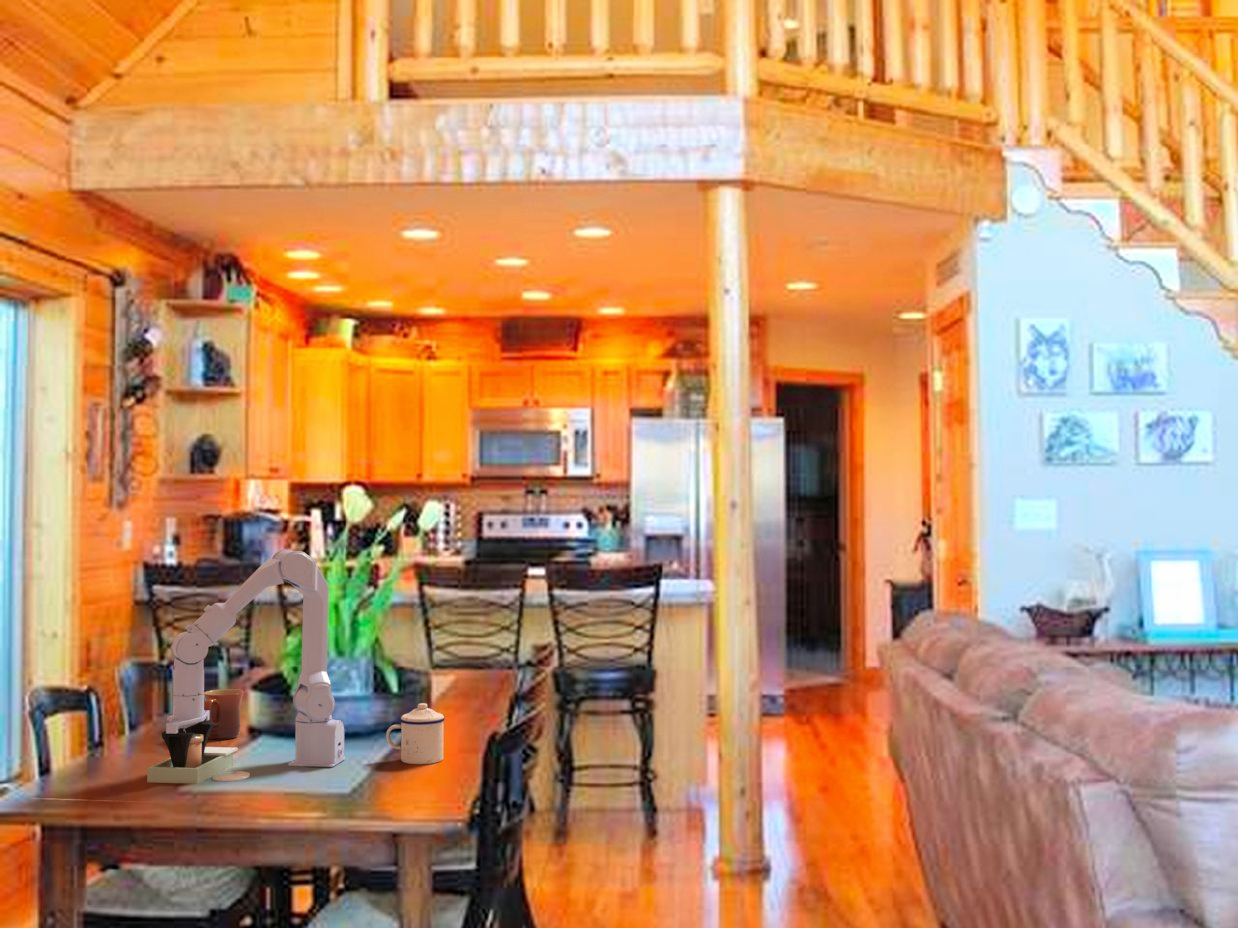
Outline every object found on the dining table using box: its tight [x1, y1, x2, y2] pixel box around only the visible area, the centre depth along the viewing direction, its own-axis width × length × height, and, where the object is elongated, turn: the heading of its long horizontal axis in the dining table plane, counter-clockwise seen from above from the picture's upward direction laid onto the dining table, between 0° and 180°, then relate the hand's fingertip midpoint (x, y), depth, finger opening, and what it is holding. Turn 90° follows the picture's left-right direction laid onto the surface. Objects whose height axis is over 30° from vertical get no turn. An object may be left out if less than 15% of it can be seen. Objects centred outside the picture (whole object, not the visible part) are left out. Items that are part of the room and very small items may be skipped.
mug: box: [204, 688, 245, 741], centre depth 279 cm, size 12×9×10 cm
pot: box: [185, 734, 203, 768], centre depth 241 cm, size 6×6×8 cm
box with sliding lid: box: [146, 746, 239, 784], centre depth 243 cm, size 11×18×4 cm, turn 174°
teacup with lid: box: [385, 702, 446, 765], centre depth 256 cm, size 12×9×12 cm
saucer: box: [211, 770, 251, 782], centre depth 240 cm, size 7×7×1 cm
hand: (188, 764), depth 241 cm, fingers open, 7 cm apart
